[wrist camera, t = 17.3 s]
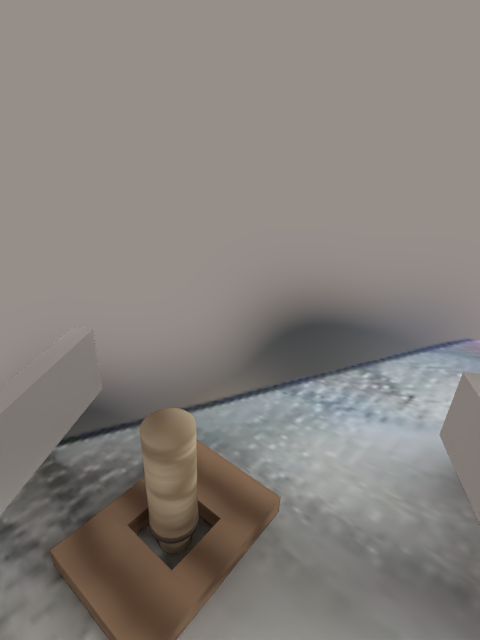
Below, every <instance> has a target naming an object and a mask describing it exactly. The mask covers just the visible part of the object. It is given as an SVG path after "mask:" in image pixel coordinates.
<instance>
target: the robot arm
mask: <svg viewBox="0 0 480 640" xmlns="http://www.w3.org/2000/svg"><path fill="white" fill-rule="evenodd" d="M101 389H102V382H101V376H100V369H99V363H98V356H97V350H96V343H95V338H94V331H93V329H88V328H80V327H74V328H72V329H71V330H70V331H69V332H67V333H66V334H65V335H64V336H63V337H61V338H60V339H59V340H58V341H57V342H55V343H54V344H53V345H52V346H50V347H49V348H48V349H47V350H46V351H44V352H43V353H42V354H41V355H40V356H38V357H37V358H36V359H35V360H34V361H33V362H31V363H30V364H29V365H28V366H27V367H25V368H24V369H23V370H22V371H20V372H19V373H18V374H17V375H16V376H15V377H13V378H12V379H11V380H10V381H8V382H7V383H6V384H5V385H4V386H2V387H1V388H0V516H1V514H2V513H3V512H4V511H5V509H6V508H7V507H8V506H9V504H10V503H11V502H12V501H13V499H14V498H15V497H16V496H17V494H18V493H19V492H20V491H21V489H22V488H23V487H24V486H25V484H26V483H27V482H28V481H29V479H30V478H31V477H32V476H33V474H34V473H35V472H36V471H37V469H38V468H39V467H40V466H41V464H42V463H43V462H44V461H45V459H46V458H47V457H48V456H49V454H50V453H51V452H52V451H53V449H54V448H55V447H56V446H57V444H58V443H59V442H60V441H61V439H62V438H63V437H64V436H65V434H66V433H67V432H68V431H69V429H70V428H71V427H72V425H73V424H74V423H75V422H76V421H77V419H78V418H79V417H80V416H81V414H82V413H83V412H84V411H85V409H86V408H87V407H88V406H89V404H90V403H91V402H92V401H93V399H94V398H95V397H96V396H97V394H98V393H99V392H100V391H101ZM440 437H441V439H442V441H443V444H444V446H445V448H446V450H447V453H448V455H449V457H450V459H451V462H452V464H453V466H454V468H455V471H456V473H457V475H458V477H459V479H460V482H461V484H462V486H463V488H464V491H465V493H466V495H467V497H468V500H469V502H470V504H471V506H472V509H473V511H474V513H475V515H476V517H477V520H478V522H479V524H480V375H479V374H471V373H463V374H462V377H461V379H460V382H459V385H458V387H457V390H456V393H455V395H454V398H453V401H452V403H451V406H450V408H449V411H448V414H447V416H446V419H445V422H444V424H443V427H442V429H441V432H440Z"/></svg>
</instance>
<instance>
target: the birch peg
mask: <svg viewBox="0 0 480 640" xmlns="http://www.w3.org/2000/svg"><path fill="white" fill-rule="evenodd" d="M140 436H141V445H142V454H143V463H144V473H145V482H146V491H147V500H148V509H149V527H150V531H151V533H152V535H153V536H154V537H155V538H156V539H157V540H159V545H160V547H161V548H162V549H163V550H164V551H166V552H168V553H179V552H181V551H183V550H184V549H186V548H187V546H188V545H189V544H190V542H191V538H192V534H193V532H194V531H195V530H196V528H197V525H198V521H199V511H198V500H197V444H196V421H195V419H194V417H193V416H192V415H191V414H190V413H188V412H187V411H184V410H182V409H177V408H166V409H161V410H158V411H155V412H153V413H151V414H150V415H149V416H147V417H146V418H145V419H144V420H143V422H142V424H141V426H140Z"/></svg>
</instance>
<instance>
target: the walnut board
mask: <svg viewBox="0 0 480 640" xmlns="http://www.w3.org/2000/svg"><path fill="white" fill-rule="evenodd" d="M196 444H197V500H198V511H199V516H201V517H202V518H203V519H204V520H205V521H207V522H208V523H209V524H210V525H211V526H213V527H212V528H211V529H210V530H209V532H208V533H207V534H206V535H205V536H204V537H203V538H202V539H201V540H200V541H199V542H198V543H197V544H196V545H195V546H194V547H193V549H192V550H191V551H190V552H189V553H188V554H187V555H186V556H185V557H184V558H183V559H182V560H181V561H180V562H179V563H178V564H177V566H176V567H175V568H174V569H173V570H171V569H170V568H169V567H168V566H167V565H166V564H165V563H164V562H163V561H162V560H161V559H160V558H159V557H158V556H157V555H156V554H155V553H154V552H153V551H152V550H151V549H150V548H149V547H148V546H147V545H146V544H145V543H144V542H143V541H142V540H141V539H140V538H139V537H138V536H137V535H136V534H137V533H138V532H139V531H140V530H141V529H142V528H143V527H144V526H146V525H147V524H148V523H149V509H148V500H147V491H146V482H145V477H144V478H143V479H142V480H140V481H139V482H138V483H137V484H135V485H134V486H133V487H131V488H130V489H129V490H128V491H126V492H125V493H124V494H122V495H121V496H120V497H118V498H117V499H116V500H115V501H113V502H112V503H111V504H109V505H108V506H107V507H106V508H104V509H103V510H102V511H100V512H99V513H98V514H97V515H95V516H94V517H93V518H91V519H90V520H89V521H88V522H86V523H85V524H84V525H82V526H81V527H80V528H78V529H77V530H76V531H75V532H73V533H72V534H71V535H69V536H68V537H67V538H66V539H64V540H63V541H62V542H60V543H59V544H58V545H57V546H55V547H54V548H53V549H51V550H50V553H51V556H52V559H53V562H54V566H55V567H56V568H57V570H58V571H59V572H60V574H61V575H62V576H63V578H64V579H65V580H66V582H67V583H68V584H69V586H70V587H71V588H72V590H73V591H74V592H75V594H76V595H77V596H78V598H79V599H80V601H81V602H82V603H83V605H84V606H85V607H86V609H87V610H88V611H89V613H90V614H91V615H92V617H93V618H94V619H95V621H96V622H97V623H98V625H99V626H100V627H101V629H102V630H103V631H104V633H105V634H106V635H107V637H108V638H109V639H110V640H176V639H177V638H178V637H179V635H180V634H181V633H182V632H183V630H184V629H185V628H186V627H187V625H188V624H189V623H190V622H191V620H192V619H193V618H194V617H195V615H196V614H197V613H198V612H199V610H200V609H201V608H202V607H203V605H204V604H205V603H206V602H207V600H208V599H209V598H210V597H211V595H212V594H213V593H214V592H215V590H216V589H217V588H218V587H219V585H220V584H221V583H222V582H223V580H224V579H225V578H226V577H227V575H228V574H229V573H230V572H231V570H232V569H233V568H234V567H235V565H236V564H237V563H238V562H239V560H240V559H241V558H242V557H243V555H244V554H245V553H246V552H247V550H248V549H249V548H250V547H251V545H252V544H253V543H254V542H255V540H256V539H257V538H258V537H259V535H260V534H261V533H262V532H263V530H264V529H265V528H266V527H267V525H268V524H269V523H270V522H271V520H272V519H273V518H274V517H275V515H276V514H277V513H278V512H279V506H280V498H281V497H279V496H278V495H277V494H275V493H274V492H272V491H271V490H269V489H268V488H266V487H265V486H263V485H262V484H261V483H259V482H258V481H256V480H255V479H253V478H252V477H250V476H249V475H247V474H246V473H245V472H243V471H242V470H240V469H239V468H237V467H236V466H234V465H233V464H231V463H230V462H229V461H227V460H226V459H224V458H223V457H221V456H220V455H218V454H217V453H215V452H214V451H213V450H211V449H210V448H208V447H207V446H205V445H204V444H202V443H201V442H199V441H198V440H197V439H196Z"/></svg>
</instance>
